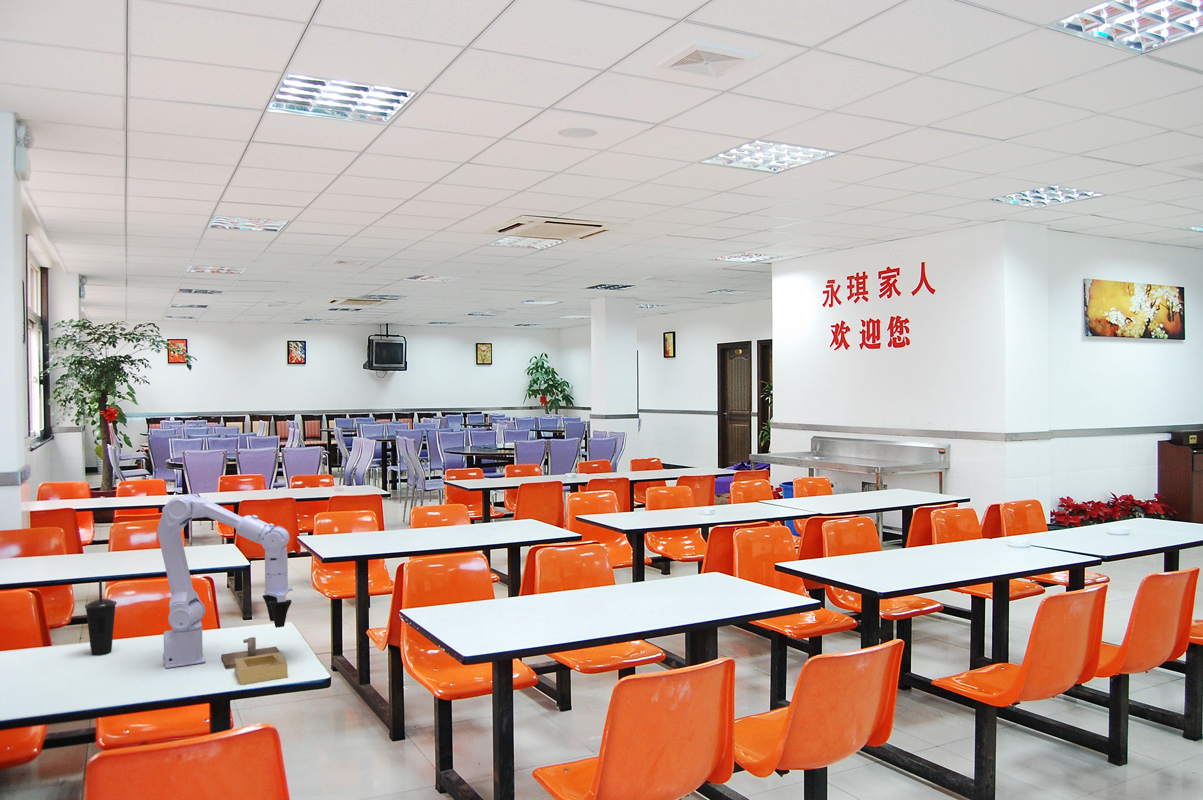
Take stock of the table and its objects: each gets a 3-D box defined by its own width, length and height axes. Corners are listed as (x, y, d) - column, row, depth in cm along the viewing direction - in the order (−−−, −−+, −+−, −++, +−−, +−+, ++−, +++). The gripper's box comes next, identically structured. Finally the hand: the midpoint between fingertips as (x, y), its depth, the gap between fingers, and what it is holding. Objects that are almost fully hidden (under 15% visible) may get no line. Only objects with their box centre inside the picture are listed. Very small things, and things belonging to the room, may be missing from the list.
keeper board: (225, 669, 224) (225, 647, 224) (221, 658, 233) (220, 637, 233) (283, 660, 230) (282, 639, 230) (276, 650, 240) (275, 629, 240)
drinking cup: (123, 649, 242) (122, 578, 242) (101, 657, 235) (100, 584, 235) (101, 648, 244) (100, 577, 244) (78, 656, 237) (77, 583, 237)
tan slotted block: (240, 684, 211) (239, 670, 211) (234, 672, 220) (234, 659, 220) (287, 677, 216) (287, 663, 216) (279, 665, 226) (279, 652, 226)
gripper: (297, 576, 228) (298, 627, 228) (286, 567, 241) (287, 616, 241) (269, 579, 225) (269, 631, 225) (259, 569, 237) (260, 619, 237)
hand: (277, 623), depth 233 cm, fingers open, 7 cm apart
